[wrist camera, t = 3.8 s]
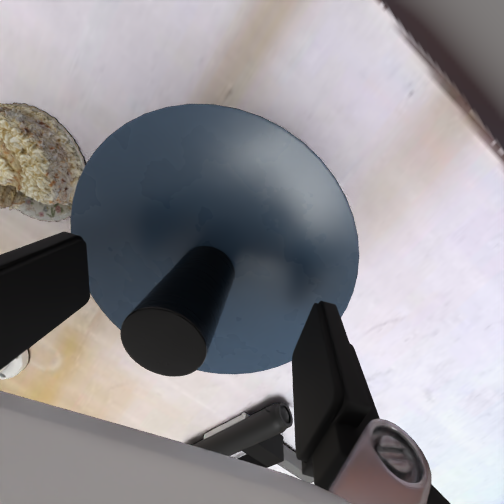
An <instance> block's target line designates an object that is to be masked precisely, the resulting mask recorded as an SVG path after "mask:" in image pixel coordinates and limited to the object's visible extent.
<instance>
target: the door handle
mask: <svg viewBox="0 0 504 504" xmlns="http://www.w3.org/2000/svg"><path fill="white" fill-rule="evenodd" d="M292 423H293V418H292V414H291V411H290V409H289V407H288V406H287V405H286V404H285V403H280V404H272V405H270V406H268V407H266V408H264V409H262V410H260V411H258V412H256V413H254V414H253V415H251V416H249V415H248V414H246V413H245V412H243V413H242V415H240V416H238V417H236V418H234V419H232V420H231V421H229V422H227V423H225V424H223V425H221V426H219V427H217V428H215V429H213V430H211V431H209V432H207V433H205V435H204V439H203V440H201V441H199V442H197V443H195V444H193V445H192V446H196V447H199V448H202V449H206V450H209V451H213V452H216V453H220V454H223V455H226V456H231V455H233V454H235V453H237V452H240V451H243V452H245V453H246V454H247V455H244V456H242V457H240V458H237V459H239V460H242V461H246V462H249V463H252V464H255V465H258V466H262V467H265V468H267V467H270V466H273V465H275V464H278V465H280V466H281V467H283V468H284V469H286V470H287V471H289V472H290V473H292V474H294V475H295V476H297V477H298V478H300V479H301V480H303V481H305V482H308V483H312V482H314V478H313V477H310V476H306V475H303V474H302V461H301V460H298V459H297V457H296V453H295V452H294V451H292V450H291V449H289V448H288V447H287V446H285V445H284V444H283V436H282V435H280V433H282V432H284V431H285V430H286V429H287V428H289V427H291V426H292Z"/></svg>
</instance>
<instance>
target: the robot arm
mask: <svg viewBox="0 0 504 504" xmlns="http://www.w3.org/2000/svg"><path fill="white" fill-rule="evenodd" d="M89 298H90V287H89V273H88V259H87V245H86V242H85V241H84V240H83V238H82V237H81V236H79V235H75V234H71V233H68V232H62V233H59V234H56V235H53V236H51V237H48V238H45V239H43V240H40V241H37V242H34V243H32V244H29V245H26V246H23V247H21V248H18V249H15V250H12V251H10V252H7V253H4V254H1V255H0V379H9V378H12V377H14V376H16V375H17V374H19V373H20V372H21V371H22V370H23V369H24V368H25V367H26V366H27V364H28V358H29V355H28V350H27V349H28V348H30V347H31V346H32V345H34V344H35V343H36V342H37V341H39V340H40V339H41V338H43V337H44V336H45V335H47V334H48V333H49V332H50V331H52V330H53V329H54V328H56V327H57V326H58V325H59V324H61V323H62V322H63V321H65V320H66V319H67V318H69V317H70V316H71V315H72V314H74V313H75V312H76V311H78V310H79V309H80V308H81V307H83V306H84V305H85V304H86V303H87V302H88V301H89ZM292 375H293V398H294V422H295V445H296V457H297V459H298V460H301V461H302V474H303V475H306V476H310V477H313V478H314V484H315V485H313V484H311V483H308V482H305V481H303V480H300V479H297V478H295V477H292V476H289V475H287V474H284V473H281V472H278V471H274V470H271V469H268V468H265V467H262V466H258V465H255V464H252V463H249V462H246V461H242V460H239V459H236V458H233V457H229V456H226V455H223V454H220V453H216V452H213V451H209V450H206V449H202V448H199V447H196V446H192V445H189V444H185V443H182V442H178V441H175V440H171V439H168V438H164V437H161V436H158V435H154V434H151V433H147V432H144V431H140V430H137V429H133V428H130V427H126V426H123V425H119V424H116V423H112V422H109V421H105V420H102V419H98V418H95V417H91V416H88V415H84V414H81V413H77V412H74V411H70V410H67V409H63V408H59V407H56V406H52V405H49V404H45V403H42V402H38V401H35V400H31V399H28V398H24V397H20V396H17V395H13V394H10V393H6V392H3V391H0V504H450V503H449V502H448V501H447V500H446V499H445V498H444V497H443V496H442V495H441V494H440V493H439V492H438V491H437V489H436V488H435V487H434V486H433V485H432V484H431V471H430V468H429V464H428V462H427V460H426V458H425V456H424V454H423V452H422V451H421V449H420V448H419V447H418V445H417V444H416V442H415V441H414V440H413V439H412V438H411V437H410V436H409V435H408V434H407V433H406V432H405V431H404V430H402V429H401V428H400V427H398V426H397V425H396V424H394V423H391V422H389V421H387V420H383V419H380V418H379V416H378V413H377V410H376V407H375V405H374V402H373V399H372V396H371V394H370V391H369V388H368V385H367V382H366V380H365V377H364V374H363V371H362V369H361V366H360V363H359V360H358V358H357V355H356V352H355V349H354V347H353V346H352V345H351V344H350V343H349V341H348V338H347V335H346V332H345V329H344V326H343V323H342V320H341V317H340V315H339V312H338V309H337V306H336V305H335V304H332V303H328V302H324V301H320V302H319V303H314V305H313V307H312V309H311V311H310V314H309V316H308V318H307V321H306V323H305V325H304V328H303V330H302V332H301V335H300V337H299V340H298V342H297V344H296V347H295V349H294V351H293V355H292Z"/></svg>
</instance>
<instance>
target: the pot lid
mask: <svg viewBox="0 0 504 504" xmlns="http://www.w3.org/2000/svg"><path fill="white" fill-rule="evenodd" d="M71 234H75V235H79V236H81V237H82V238H83V240H84V241H85V242H86V245H87V259H88V273H89V287H90V293H91V295H92V297H93V298H94V300H95V301H96V303H97V304H98V305H99V307H100V308H101V310H102V311H103V312H104V313H105V314H106V316H107V317H108V318H109V319H110V320H111V321H112V322H113V323H114V324H115V325H116V326H117V327H118V328H119V329H120V330H121V340H122V344H123V346H124V348H125V350H126V351H127V353H128V354H129V355H130V357H131V358H132V359H133V360H134V361H135V362H137V363H138V364H139V365H141V366H142V367H144V368H145V369H147V370H149V371H152V372H154V373H157V374H160V375H165V376H184V375H187V374H190V373H192V372H194V371H196V370H199V371H203V372H210V373H218V374H244V373H253V372H259V371H264V370H268V369H271V368H275V367H278V366H281V365H283V364H286V363H288V362H290V361H292V355H293V351H294V349H295V347H296V344H297V342H298V340H299V337H300V335H301V332H302V330H303V328H304V325H305V323H306V321H307V318H308V316H309V314H310V311H311V309H312V307H313V305H314V303H319V302H320V301H324V302H328V303H332V304H335V305H336V306H337V309H338V312H339V315H340V317H342V315H343V313H344V311H345V310H346V308H347V306H348V303H349V301H350V298H351V296H352V294H353V291H354V287H355V282H356V278H357V274H358V263H359V247H358V235H357V231H356V226H355V221H354V217H353V214H352V212H351V209H350V206H349V204H348V201H347V199H346V196H345V194H344V193H343V191H342V189H341V187H340V186H339V184H338V182H337V180H336V179H335V177H334V176H333V174H332V173H331V172H330V170H329V169H328V168H327V167H326V165H325V164H324V163H323V161H322V160H321V159H320V158H319V157H318V156H317V155H316V154H315V153H314V152H313V151H312V150H311V149H310V148H309V147H308V146H307V145H305V144H304V143H303V142H302V141H301V140H299V139H298V138H296V137H295V136H294V135H292V134H291V133H289V132H288V131H287V130H285V129H284V128H282V127H280V126H278V125H276V124H274V123H272V122H271V121H269V120H267V119H265V118H263V117H261V116H258V115H255V114H252V113H249V112H246V111H243V110H240V109H237V108H231V107H225V106H220V105H214V104H185V105H178V106H170V107H165V108H162V109H159V110H155V111H152V112H149V113H146V114H143V115H142V116H140V117H138V118H136V119H134V120H132V121H130V122H128V123H126V124H124V125H123V126H122V127H120V128H119V129H118V130H116V131H115V132H114V133H112V134H111V135H110V136H109V137H108V138H107V139H106V140H105V141H104V142H103V143H102V144H101V145H100V146H99V147H98V148H97V149H96V150H95V152H94V153H93V155H92V156H91V158H90V159H89V161H88V162H87V164H86V165H85V167H84V169H83V172H82V174H81V176H80V178H79V180H78V183H77V186H76V190H75V193H74V197H73V201H72V210H71Z"/></svg>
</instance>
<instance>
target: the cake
mask: <svg viewBox="0 0 504 504" xmlns="http://www.w3.org/2000/svg"><path fill="white" fill-rule="evenodd" d="M82 157H83V156H82V155H81V153H80V152H79V148H78V146H77V144H76V143H75V141H74V139H73V138H72V137H71V135H70V134H69V133H68V132H67V131H66V129H65V128H64V127H63V126H62V125H61V124H59V123H58V122H57V120H56V119H55V118H53V117H51V116H49V115H48V114H47V113H46V112H44V111H42V110H39V109H38V108H36V107H34V106H28V105H27V104H24V103H23V104H18V103H13V104H1V103H0V208H6V207H8V206H10V207H9V208H10V209H9V210H12V209H16V210H19V211H21V213H22V214H24V215H27V216H29V217H31V218H34V219H38V220H40V221H48V222H52V221H56V222H57V221H60V220H62V219H63V220H64V219H67V218H68V217H70V216H71V210H72V201H73V197H74V193H75V190H76V186H77V183H78V180H79V178H80V176H81V174H82V172H83V169H84V167H85V164H84V159H83V158H84V157H83V158H82Z"/></svg>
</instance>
